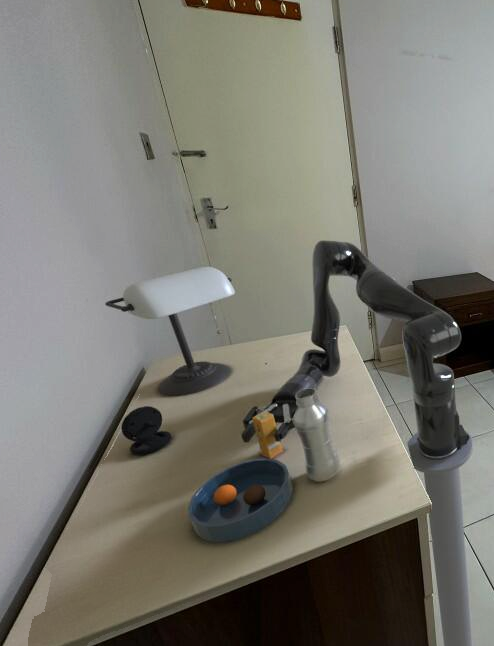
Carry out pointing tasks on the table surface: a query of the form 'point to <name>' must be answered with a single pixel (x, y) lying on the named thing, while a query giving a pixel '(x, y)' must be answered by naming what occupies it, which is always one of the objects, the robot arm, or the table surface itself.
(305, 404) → the silver bottle
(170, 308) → the lamp
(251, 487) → the brown ball
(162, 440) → the webcam
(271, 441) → the supplement box
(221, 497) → the orange ball
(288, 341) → the table surface
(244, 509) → the bowl
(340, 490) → the table surface
